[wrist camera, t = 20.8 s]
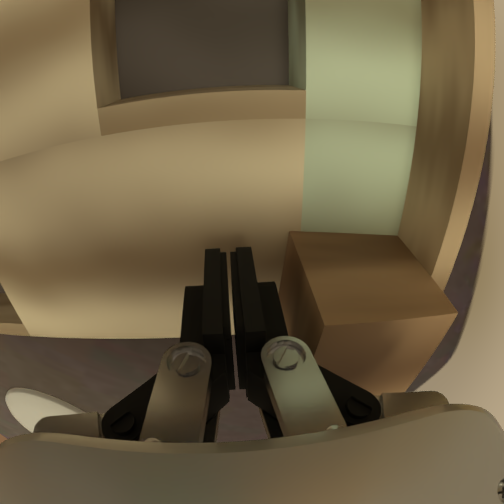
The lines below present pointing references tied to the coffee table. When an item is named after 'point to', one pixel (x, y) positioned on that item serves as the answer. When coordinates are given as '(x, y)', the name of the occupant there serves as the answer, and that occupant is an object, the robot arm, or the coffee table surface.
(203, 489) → the robot arm
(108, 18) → the board
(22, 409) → the candlestick
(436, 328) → the walnut block
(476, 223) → the coffee table surface
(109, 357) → the coffee table surface
